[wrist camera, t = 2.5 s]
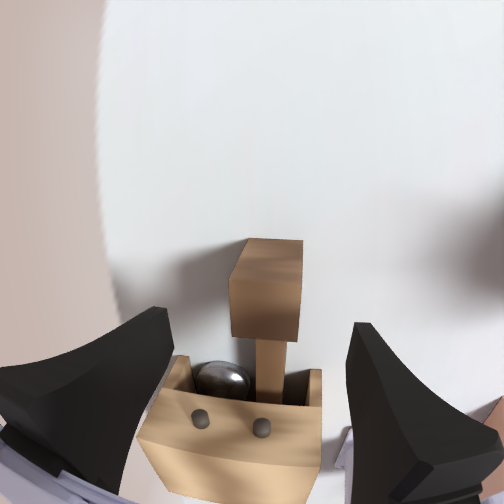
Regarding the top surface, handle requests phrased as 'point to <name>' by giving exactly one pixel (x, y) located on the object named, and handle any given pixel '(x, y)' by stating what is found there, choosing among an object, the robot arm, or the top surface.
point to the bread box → (233, 443)
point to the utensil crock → (500, 478)
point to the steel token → (223, 381)
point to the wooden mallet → (267, 307)
